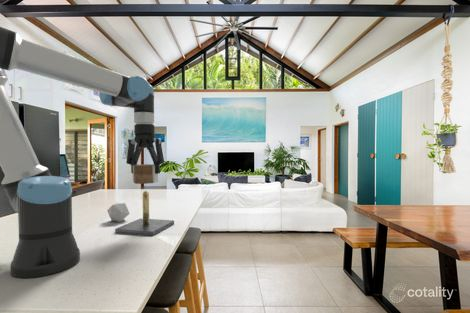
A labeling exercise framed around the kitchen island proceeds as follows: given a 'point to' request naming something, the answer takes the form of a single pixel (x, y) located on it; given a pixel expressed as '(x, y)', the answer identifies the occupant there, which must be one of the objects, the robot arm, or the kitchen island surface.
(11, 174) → the robot arm
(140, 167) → the bead
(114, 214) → the die
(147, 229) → the stand
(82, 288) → the kitchen island surface
